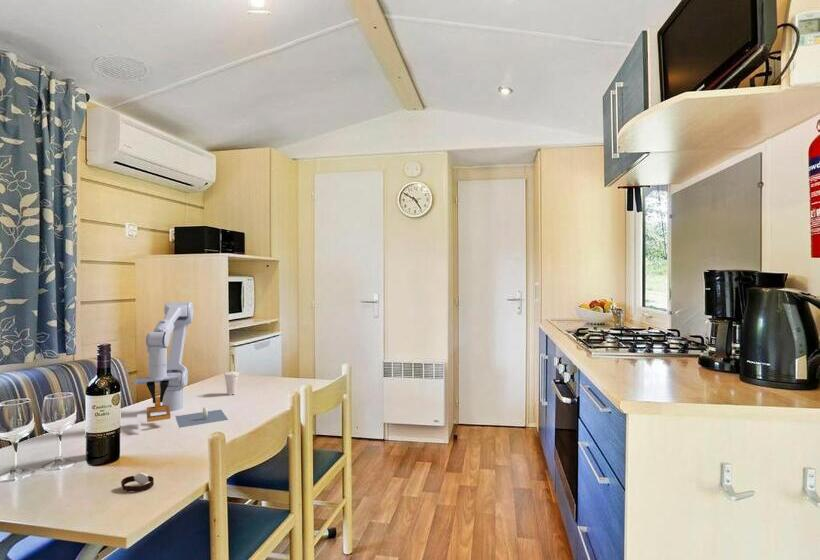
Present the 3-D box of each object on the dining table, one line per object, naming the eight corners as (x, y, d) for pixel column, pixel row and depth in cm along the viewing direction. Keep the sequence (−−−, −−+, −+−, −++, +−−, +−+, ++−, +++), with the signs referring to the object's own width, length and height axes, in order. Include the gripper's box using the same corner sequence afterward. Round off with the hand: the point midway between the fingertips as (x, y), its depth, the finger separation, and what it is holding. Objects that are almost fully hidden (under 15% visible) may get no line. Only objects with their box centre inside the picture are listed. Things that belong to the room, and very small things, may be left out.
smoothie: (233, 396, 196) (233, 365, 196) (221, 395, 197) (221, 364, 197) (242, 392, 202) (242, 362, 202) (229, 392, 204) (229, 362, 204)
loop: (170, 418, 153) (170, 412, 152) (147, 422, 149) (147, 415, 148) (167, 401, 162) (168, 395, 162) (145, 404, 159) (146, 397, 158)
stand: (175, 418, 164) (175, 405, 164) (221, 412, 173) (221, 399, 173) (179, 430, 151) (179, 416, 151) (228, 422, 160) (228, 408, 160)
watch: (158, 484, 112) (158, 470, 112) (146, 493, 107) (146, 478, 107) (128, 484, 112) (128, 469, 112) (115, 493, 107) (115, 478, 107)
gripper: (134, 368, 150) (134, 408, 150) (181, 364, 158) (181, 401, 158) (134, 365, 156) (133, 403, 156) (179, 361, 164) (179, 397, 164)
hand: (157, 402), depth 158 cm, fingers closed on loop, 2 cm apart
